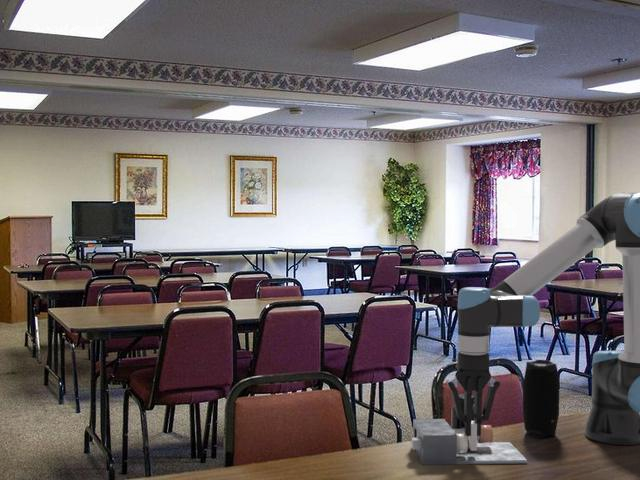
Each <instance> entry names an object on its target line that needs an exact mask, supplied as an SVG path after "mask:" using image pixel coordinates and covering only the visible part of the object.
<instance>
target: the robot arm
mask: <svg viewBox="0 0 640 480" xmlns="http://www.w3.org/2000/svg"><path fill="white" fill-rule="evenodd" d="M613 241H614V242H615V249H616V250H617V251H618V252H620V253H621V258H622V259H621V260H622V264H621V265H622V299H623V300H622V301H623V337H624V338H623V341H624V342H623V345H624V348H623V350H598V351H596V352H594V353H593V356H592V363H591V367H592V369H591V372H592V373H591V375H592V376H591V379H592V380H591V408H590V410H589V413H588V415H587V418H586V421H585V424H584V436H585V437H587V438H588V439H589V440H593V441H595V442H598V443H605V444H609V445H617V446H634V445H635V446H636V445H640V191H638V192H636V191H635V192H621V193H615V194H612V195H609V196H607V197H605V198H604V199H603V200H601V201H600V202H599V203H597V204H595V206H593V207H592V208H590V209H589V210H587V211H586V212H585V213H584V214H583V215H581V216H580V217H578V219H576V224H575V226H573V227H571V229H569V230H568V231H567V232H565V233H564V234H563V235H561V236H560V237H559V238H557V239H556V240H555V241H553V242H552V243H551V244H549V245H548V246H547V247H546V248H544V249H543V250H541V251H540V252H539V253H537V254H536V255H535V256H534V257H532V258H531V259H530V260H528V261H527V262H526V263H525V264H523V265H522V266H520V267H519V268H518V269H517V270H516V271H514V272H513V273H512V274H510V275H509V276H507V277H506V278H505V279H504V280H501V281H500V282H499V283H498V284H497V285H495V286H494V287H491V288H490V287H489V288H487V287H479V286H478V287H476V286H474V287H473V286H469V287H462V288H460V289H459V291H458V297H457V306H456V308H457V350H458V352H457V359H456V360H457V364H456V365H457V369H456V372H455V375H454V377H453V378H450V379H446V381H445V383H446V385H447V387H448V388H449V390H450V394H451V397H452V402H453V406H455V410H456V414H457V417H458V419H459V420H460V421H464V422H465V434H466V436H469V448H470V450H471V451H477V443H478V440H477V436H480V435H481V425H483V422H484V421H485V422H486V421H489V420H490V416H491V412H492V408H493V404H494V400H495V397H496V393H497V390H498V389H499V387H500V386H501V383H500V382H501V381H499V380H497V379H496V378H493V377H492V374H491V372H490V354H489V353H488V352H489V351H490V333H491V332H490V330H491V329H490V328H512V327H513V328H525V327H533V326H536V325H537V324H538V323H539V321H540V317H541V307H540V306H541V305H540V302H539V300H538V299H537V297H536V296H533V295H534V294H536V293H537V292H539V291H540V290H541V289H543V288H544V287H545V286H546V285H548V284H549V283H551V282H552V281H554V280H555V279H556V278H558V277H559V276H560V275H561V274H563V273H564V272H565V271H566V270H569V268H570V267H572V266H573V265H574V264H576V263H577V262H578V261H580V260H581V259H582V258H584V257H586V256H587V254H590V252H592V251H593V250H595V249H602V248H604V247H605V246H607V245H608V244H609V243H611V242H613ZM458 383H459V384H460V385H461V387H462V389H463V394H464V415H463V411H462V407H461V403H460V399H459V395H458V394H459V391H458V389H457V388H458V386H459V385H458ZM487 385H488V388H487V392H486V395H485V396H486V397H485V398H484V399H485V400H484V403H483V390H484V389H485V388H486V386H487ZM473 393H474V394H473ZM472 396H474V405H473V406H474V419H475V421H471V414H472ZM482 403H483V405H482Z"/></svg>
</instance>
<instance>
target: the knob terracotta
mask: <svg viewBox="0 0 640 480" xmlns="http://www.w3.org/2000/svg"><path fill="white" fill-rule="evenodd" d="M452 430H453V431H454V432H455V433H456V434H465V429H452ZM493 431H494V430H493V427H492V425H490V424H481V435H480V436H477V443H492V442H493V441H494V432H493ZM467 440H469V436H467Z"/></svg>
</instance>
